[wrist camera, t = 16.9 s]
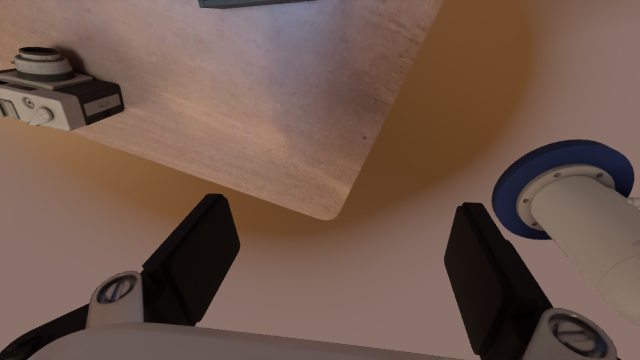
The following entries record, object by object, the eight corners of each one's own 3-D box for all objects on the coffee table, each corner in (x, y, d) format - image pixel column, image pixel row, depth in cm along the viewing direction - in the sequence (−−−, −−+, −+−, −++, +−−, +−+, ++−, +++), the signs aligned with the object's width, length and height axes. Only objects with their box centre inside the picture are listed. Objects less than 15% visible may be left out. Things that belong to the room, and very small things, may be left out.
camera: (114, 58, 38) (45, 69, 30) (126, 112, 43) (68, 136, 34) (21, 37, 38) (-74, 42, 30) (42, 93, 43) (-35, 112, 34)
